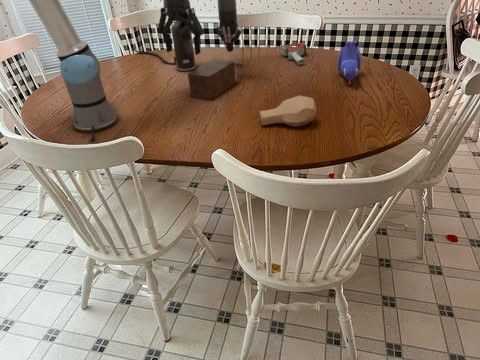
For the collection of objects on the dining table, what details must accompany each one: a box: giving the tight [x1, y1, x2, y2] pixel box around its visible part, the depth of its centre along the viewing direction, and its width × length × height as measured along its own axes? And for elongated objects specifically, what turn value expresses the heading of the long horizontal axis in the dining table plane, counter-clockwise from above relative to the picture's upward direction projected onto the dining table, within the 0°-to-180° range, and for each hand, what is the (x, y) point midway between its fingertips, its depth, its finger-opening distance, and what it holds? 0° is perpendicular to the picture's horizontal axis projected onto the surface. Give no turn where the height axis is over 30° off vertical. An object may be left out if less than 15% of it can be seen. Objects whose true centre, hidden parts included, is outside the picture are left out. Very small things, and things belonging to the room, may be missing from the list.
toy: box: [336, 40, 362, 86], centre depth 151 cm, size 10×17×25 cm
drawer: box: [234, 61, 243, 81], centre depth 154 cm, size 25×9×8 cm, turn 150°
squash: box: [258, 94, 318, 128], centre depth 122 cm, size 11×20×9 cm, turn 92°
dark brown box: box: [187, 58, 237, 101], centre depth 151 cm, size 20×10×10 cm, turn 150°
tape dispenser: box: [279, 42, 307, 66], centre depth 180 cm, size 18×5×20 cm
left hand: (183, 52), depth 143 cm, fingers open, 13 cm apart
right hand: (230, 51), depth 157 cm, fingers closed
